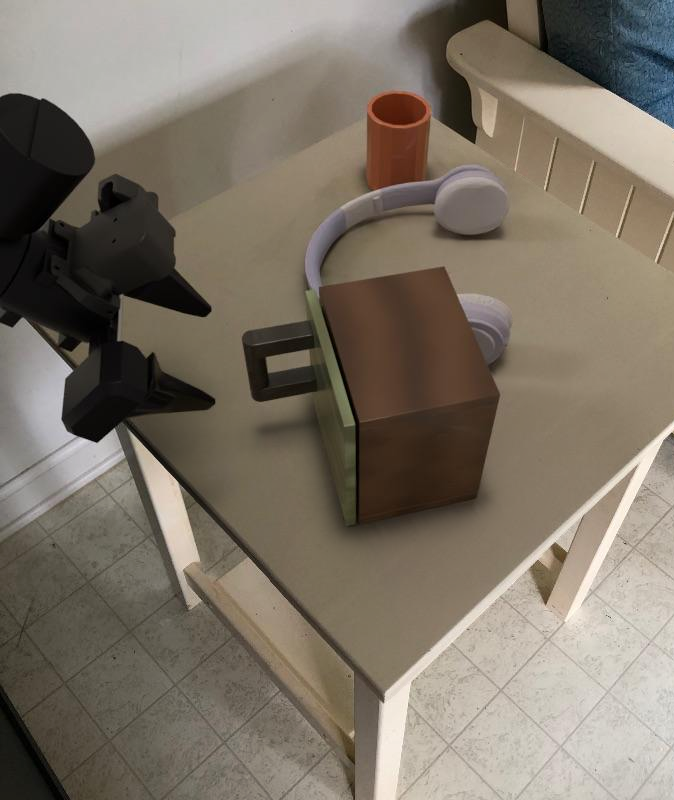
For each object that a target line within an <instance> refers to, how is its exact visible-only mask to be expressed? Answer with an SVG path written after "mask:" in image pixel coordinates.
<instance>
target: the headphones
mask: <svg viewBox="0 0 674 800" xmlns="http://www.w3.org/2000/svg"><path fill="white" fill-rule="evenodd" d="M424 205H433V214H434V217H435V220H436V222H437V223H438V224H439V225H440V226H441V227H442V228H444V229H446V230H448V231H450V232H452V233H455V234H460V235H465V236H466V235H469V236H471V235H480V234H486V233H488V232H491V231H493V230H495V229H497V228H498V227H500V225H501V224H502V223H503V222H504V221H505V220H506V217H507V215H508V214H509V211H510V199H509V196H508V192H507V190H506V188H505V185H504V184H503V182H502V181H501V180H500V179H499V178H498V177H497V176H496V175H495V173H494V172H492V170H490V169H488V168H487V167H484V166H481V165H479V164H463V165H459V166H457V167H454V168H452V169H450V170H449V171H448V172H446V173H444V174H443V175H442V176H441V177H438V178H435V179H432V180H431V179H430V180H425V181H421V182H411V183H404V184H399V185H394V186H389V187H386V188H382V189H379V190H375V191H372V190H371V191H370V192H369V191H368V192H367V193H365V194H362V195H360V196H357V197H356V198H354V199H352V200H350V201H348V202H346V203H345V204H343V205H342V206H340V207H338V208H337V209H336V210H334V211H333V212H332V213H331V214H329V215H328V217H326V218H325V219H324V220H323V221H322V222H321V223H320V225H318V227H317V229H316V230H315V231H314V233H313V235H312V236H311V238H310V239H309V240H310V241H309V242H308V245H307V249H306V251H305V258H304V259H305V260H304V268H305V275H306V280H307V286H308V288H309V289H308V290H313V289H315V290H316V293H317V296H318V300H319V287H322V286H323V283H322V282H323V281H322V278H321V267H322V264H323V261H324V260H325V257H326V254H327V253H328V251H329V249H330V247H331V246H332V245H333V243H334V242H335V241H336V240H337V239H338V238H339V237H341V235H343V234H344V233H346V231H347V230H348V229H350V228H351V227H353V226H355V225H356V224H358V223H360V222H362V221H364V220H367V219H369V218H370V217H373V216H376V215H380V214H382V213H386V212H388V211H393V210H396V209H402V208H407V207H414V206H424ZM456 294H457V296H458V299H459V301H460V303H461V305H462V308H463V310H464V312H465V315H466V317H467V319H468V321H469V324H470V326H471V328H472V331H473V333H474V335H475V337H476V340H477V342H478V344H479V347H480V349H481V351H482V354H483V356H484V358H485V360H486V363H487V365H488V366H489V365H491V364H492V363H493V362H495V361H496V360H497V359H498V358H499V357H500V356H501V355H502V353H503V351H504V348H507V346H508V345H509V342H510V337H511V328H512V326H513V315H512V312H511V310H510V309H509V307H508V306H507V304H505V303H504V302H503V301H501V300H500V299H497V298H495V297H492V296H489V295H484V294H480V293H456ZM319 303H320V302H319Z"/></svg>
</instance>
